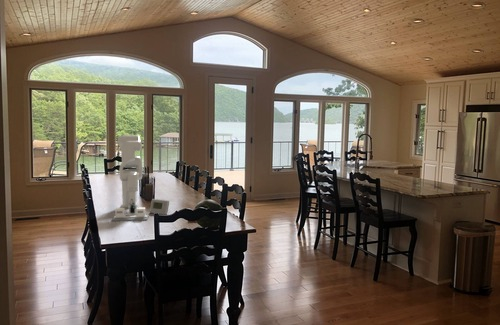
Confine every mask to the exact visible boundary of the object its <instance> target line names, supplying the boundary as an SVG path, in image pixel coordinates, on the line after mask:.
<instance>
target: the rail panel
mask: <svg viewBox="0 0 500 325" xmlns="http://www.w3.org/2000/svg"><path fill="white" fill-rule="evenodd" d="M114 213H115V215H114V216H113V218H112V219H111V222H136V221H137V222H140V221H141V222H142V221H143V222H144V221H148V219H149V216H150V214H146V207H144V206H143V207H142V206H140V207H138V208H137V209H136V215H129V214H127V215H126V208H123V207H116V208H115V211H114Z"/></svg>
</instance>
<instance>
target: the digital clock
mask: <svg viewBox="0 0 500 325" xmlns="http://www.w3.org/2000/svg"><path fill="white" fill-rule="evenodd" d="M169 206H170V201H169V200H166V199H158V198H157V199H155V198H152V199H151V202H150V208H149V213H151V214H155V213H159V214H158V215H167V214H168V211H169Z"/></svg>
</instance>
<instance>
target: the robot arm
mask: <svg viewBox="0 0 500 325" xmlns="http://www.w3.org/2000/svg"><path fill="white" fill-rule="evenodd" d="M117 143H118V146H119V149H120V152H121V164H120V165H119V168H118V170H119V171H118V172H119V180H120V181H121V188H122V189H121V192H122V195H121V197H122V199H121V200H122V204H120V208H125V209H129V204H130V213H135V208H134V204H137V198H138V197H137V196H138V195H137V192H138V191H139V185H138V184H139V182H138V181H140V180H142V179H143V162H142V158H141V156H138V155H136V153H135V152H141V151H142V149H143V144H142V140H141V137H140V135H137V134H123V135H119V136H118V138H117ZM124 168H125V169H124ZM126 168H127V169H126Z"/></svg>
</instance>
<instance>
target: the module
mask: <svg viewBox="0 0 500 325" xmlns="http://www.w3.org/2000/svg"><path fill="white" fill-rule="evenodd" d="M138 206H139V205H138V203H136V204H134V208H135V213H130V204H129V208H128V215H136V209H137V208H139V207H138Z"/></svg>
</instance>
